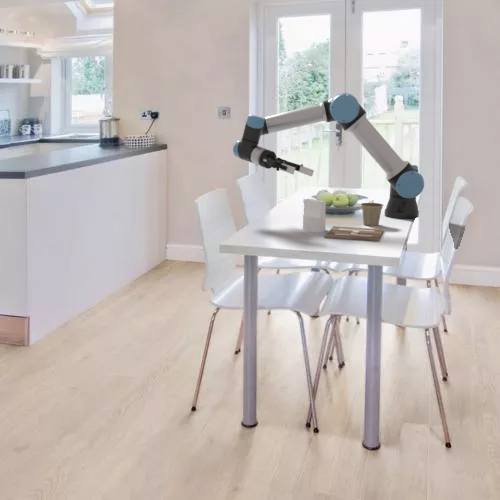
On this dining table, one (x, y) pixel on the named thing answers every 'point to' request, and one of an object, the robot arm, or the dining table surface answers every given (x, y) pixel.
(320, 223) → the base with upright slab
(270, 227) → the dining table surface
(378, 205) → the flower pot
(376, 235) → the letter board
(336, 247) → the dining table surface
